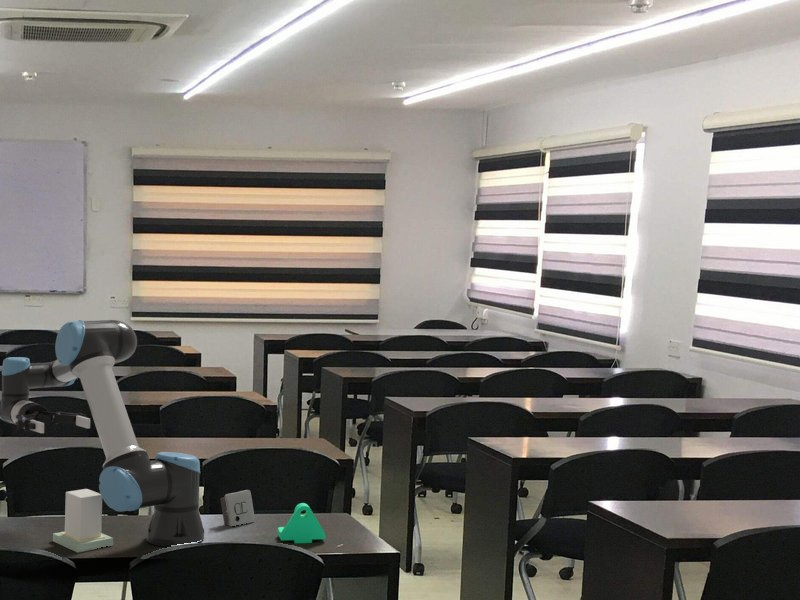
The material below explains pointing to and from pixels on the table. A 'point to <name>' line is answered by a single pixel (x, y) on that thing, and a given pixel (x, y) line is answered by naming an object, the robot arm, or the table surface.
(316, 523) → the camera mount
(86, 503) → the block
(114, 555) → the table surface
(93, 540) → the board
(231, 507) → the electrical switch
